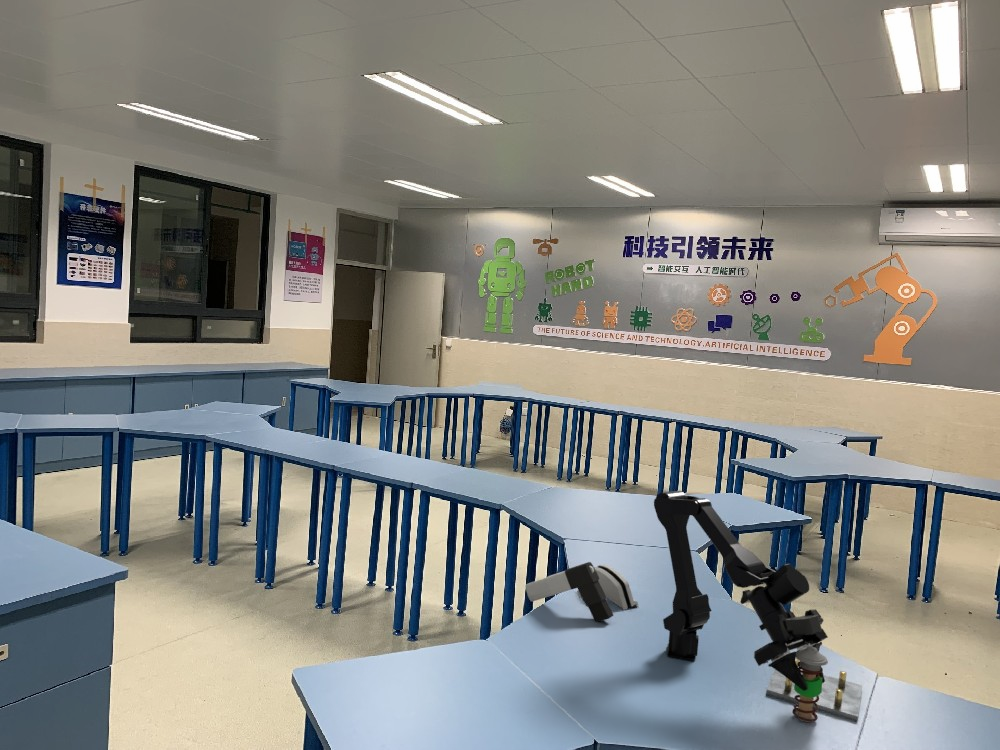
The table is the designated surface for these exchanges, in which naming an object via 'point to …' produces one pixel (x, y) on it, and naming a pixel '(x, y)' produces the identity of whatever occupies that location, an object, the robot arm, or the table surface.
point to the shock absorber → (809, 683)
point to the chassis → (822, 694)
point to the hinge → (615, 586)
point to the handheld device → (571, 579)
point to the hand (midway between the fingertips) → (814, 686)
